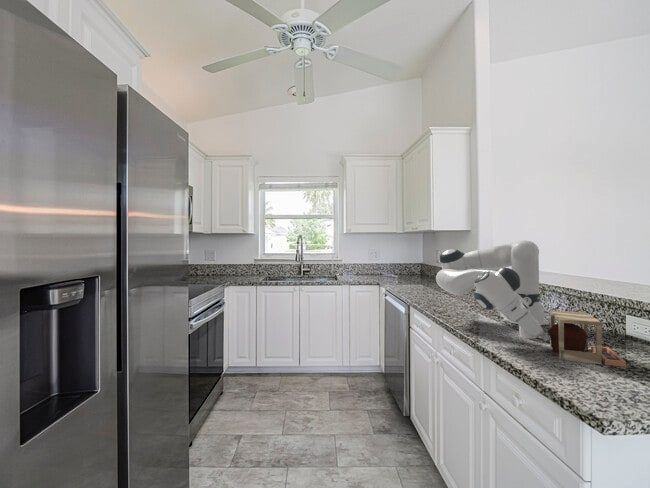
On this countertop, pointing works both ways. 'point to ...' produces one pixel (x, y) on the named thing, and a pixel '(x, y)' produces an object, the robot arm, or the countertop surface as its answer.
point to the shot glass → (525, 333)
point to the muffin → (568, 337)
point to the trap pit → (610, 357)
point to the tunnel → (585, 320)
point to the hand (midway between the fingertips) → (547, 339)
